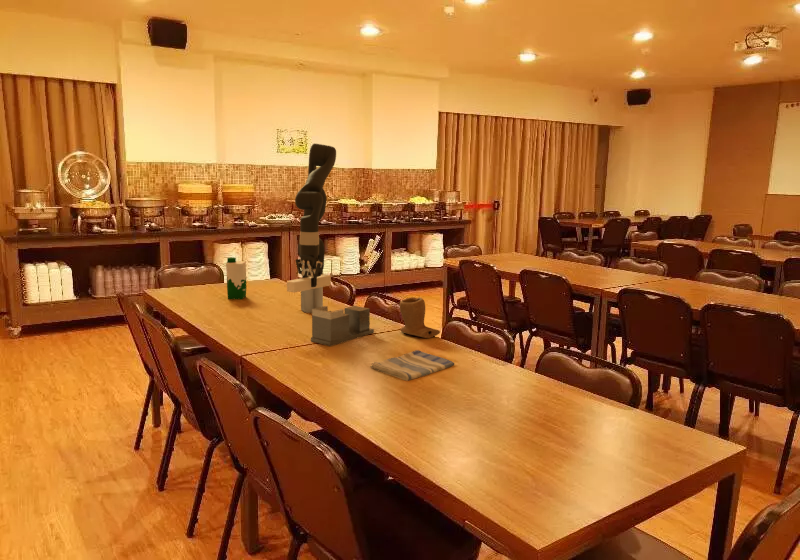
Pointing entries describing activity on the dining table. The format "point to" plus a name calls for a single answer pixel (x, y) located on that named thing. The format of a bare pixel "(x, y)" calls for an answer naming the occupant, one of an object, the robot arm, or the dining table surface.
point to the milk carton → (236, 278)
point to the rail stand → (339, 324)
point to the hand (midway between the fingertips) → (309, 285)
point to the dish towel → (412, 365)
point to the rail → (307, 283)
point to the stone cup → (415, 318)
